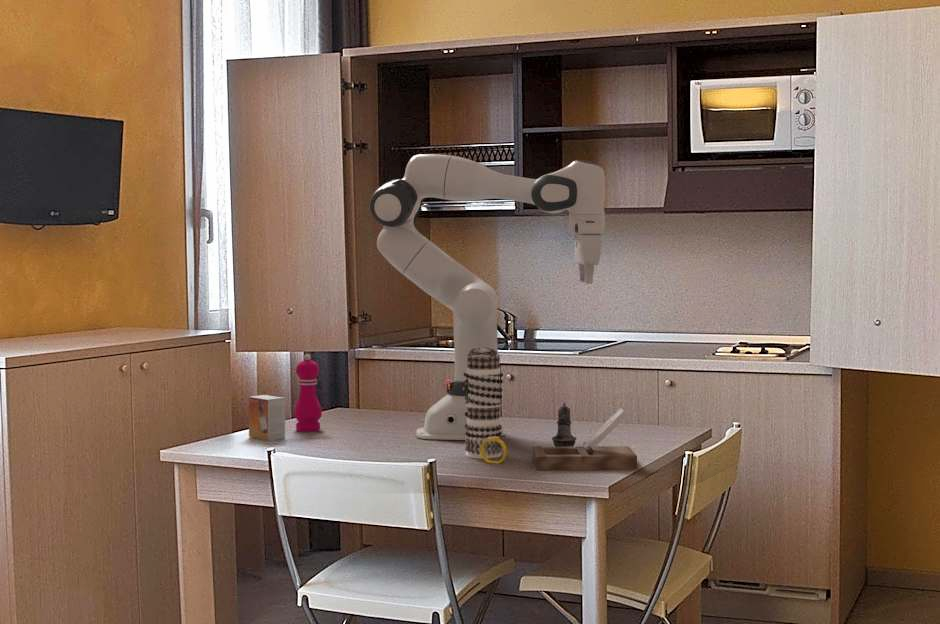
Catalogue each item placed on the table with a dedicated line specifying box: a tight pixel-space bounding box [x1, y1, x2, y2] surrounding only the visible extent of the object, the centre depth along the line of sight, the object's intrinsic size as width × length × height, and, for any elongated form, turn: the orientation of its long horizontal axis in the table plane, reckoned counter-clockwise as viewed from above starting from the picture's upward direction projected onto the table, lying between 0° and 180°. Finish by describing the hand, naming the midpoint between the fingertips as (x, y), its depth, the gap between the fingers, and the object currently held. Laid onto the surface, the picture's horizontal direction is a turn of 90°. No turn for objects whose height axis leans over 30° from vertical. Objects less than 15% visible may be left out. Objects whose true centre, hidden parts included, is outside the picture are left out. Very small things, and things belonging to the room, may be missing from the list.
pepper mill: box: [293, 353, 323, 433], centre depth 317 cm, size 7×7×20 cm
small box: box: [248, 394, 286, 442], centre depth 305 cm, size 8×6×10 cm
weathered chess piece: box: [551, 402, 577, 447], centre depth 283 cm, size 6×6×12 cm
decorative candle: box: [464, 348, 504, 460], centre depth 281 cm, size 9×9×25 cm
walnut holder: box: [532, 441, 638, 471], centre depth 270 cm, size 22×12×4 cm, turn 91°
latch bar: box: [582, 407, 628, 450], centre depth 269 cm, size 12×5×1 cm
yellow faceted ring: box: [481, 436, 508, 464], centre depth 272 cm, size 6×3×6 cm, turn 66°
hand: (586, 282), depth 298 cm, fingers open, 8 cm apart
